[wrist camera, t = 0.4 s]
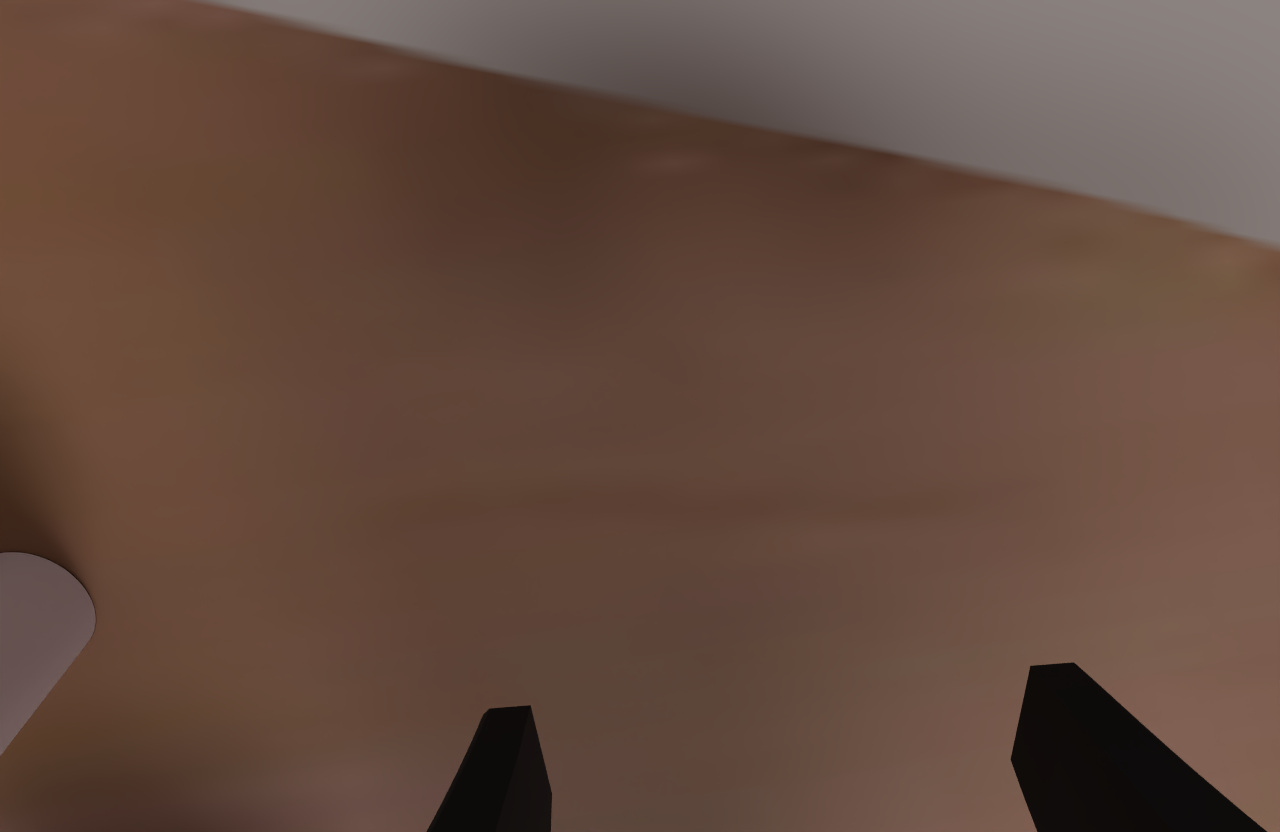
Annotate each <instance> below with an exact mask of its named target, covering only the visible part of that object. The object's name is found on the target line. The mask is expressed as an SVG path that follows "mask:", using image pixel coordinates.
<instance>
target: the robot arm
mask: <svg viewBox="0 0 1280 832" xmlns="http://www.w3.org/2000/svg"><path fill="white" fill-rule="evenodd" d="M1011 762H1012V765H1013V767H1014V770H1015V773H1016V776H1017V779H1018V781H1019V784H1020V787H1021V790H1022V792H1023V795H1024V798H1025V801H1026V803H1027V806H1028V809H1029V811H1030V814H1031V816H1032V819H1033V821H1034V824H1035V827H1036V829H1037V832H1267V831H1265V830H1264V829H1263V828H1262V827H1261V826H1259V825H1258V824H1257V823H1256V822H1255V821H1253V820H1252V819H1251V818H1250V817H1249V816H1247V815H1246V814H1245V813H1244V812H1242V811H1241V810H1240V809H1239V808H1238V807H1237V806H1235V805H1234V804H1233V803H1232V802H1231V801H1230V800H1228V799H1227V798H1226V797H1225V796H1224V795H1223V794H1221V793H1220V792H1219V791H1218V790H1217V789H1215V788H1214V787H1213V786H1212V785H1211V784H1210V783H1208V782H1207V781H1206V780H1205V779H1204V778H1203V777H1201V776H1200V775H1199V774H1198V773H1197V772H1196V771H1194V770H1193V769H1192V768H1191V767H1190V766H1189V765H1188V764H1186V763H1185V762H1184V761H1183V760H1182V759H1181V758H1180V757H1178V756H1177V755H1176V754H1175V753H1174V752H1173V751H1172V750H1171V749H1169V748H1168V747H1167V746H1166V745H1165V744H1164V743H1163V742H1162V741H1160V740H1159V739H1158V738H1157V737H1156V736H1155V735H1154V734H1153V733H1152V732H1150V731H1149V730H1148V729H1147V728H1146V727H1145V726H1144V725H1143V724H1142V723H1140V722H1139V721H1138V720H1137V719H1136V718H1135V717H1134V716H1133V715H1132V714H1130V713H1129V712H1128V711H1127V710H1126V709H1125V708H1124V707H1123V706H1122V705H1121V704H1120V703H1118V702H1117V701H1116V700H1115V699H1114V698H1113V697H1112V696H1111V695H1110V694H1109V693H1107V692H1106V691H1105V690H1104V689H1103V688H1102V687H1101V686H1100V685H1099V684H1098V683H1096V682H1095V681H1094V680H1093V679H1092V678H1091V677H1090V676H1089V675H1088V674H1086V673H1085V672H1084V671H1083V670H1082V669H1081V668H1080V667H1079V666H1077V665H1076V664H1075V663H1062V664H1049V665H1036V666H1030V671H1029V675H1028V680H1027V685H1026V690H1025V694H1024V699H1023V704H1022V708H1021V713H1020V718H1019V723H1018V727H1017V732H1016V737H1015V741H1014V746H1013V751H1012V756H1011ZM551 807H552V792H551V788H550V784H549V780H548V776H547V771H546V767H545V763H544V759H543V755H542V751H541V747H540V742H539V738H538V734H537V730H536V726H535V722H534V718H533V714H532V709H531V705H529V706H517V707H504V708H491V709H489V710H488V711H487V712H486V713H484V714H483V716H482V719H481V721H480V724H479V726H478V728H477V731H476V733H475V735H474V737H473V740H472V742H471V744H470V746H469V748H468V751H467V753H466V755H465V757H464V759H463V761H462V764H461V766H460V768H459V770H458V772H457V774H456V776H455V778H454V780H453V782H452V784H451V786H450V788H449V790H448V792H447V794H446V796H445V798H444V800H443V802H442V804H441V806H440V808H439V810H438V811H437V813H436V815H435V817H434V819H433V821H432V823H431V824H430V826H429V828H428V830H427V832H551Z"/></svg>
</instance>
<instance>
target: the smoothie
mask: <svg viewBox="0 0 1280 832" xmlns="http://www.w3.org/2000/svg"><path fill="white" fill-rule="evenodd" d="M95 624H96V615H95V609H94V606H93V603H92V600H91V598H90V596H89V595H88V593H87V591H86V590H85V588H84V587H83V586H82V585H81V583H80V582H79V581H78V580H77V579H76V578H75V577H74V576H73V575H71V574H70V573H69V572H68V571H66V570H65V569H64V568H62V567H60V566H59V565H57V564H55V563H53V562H52V561H49V560H47V559H45V558H42V557H39V556H36V555H32V554H27V553H19V552H5V553H0V756H1V754H2V753H3V752H4V751H5V749H6V748H7V747H8V745H9V744H10V743H11V742H12V740H13V739H14V738H15V736H16V735H17V734H18V732H19V731H20V730H21V729H22V727H23V726H24V725H25V723H26V722H27V721H28V719H29V718H30V717H31V716H32V714H33V713H34V712H35V710H36V709H37V708H38V707H39V705H40V704H41V703H42V701H43V700H44V699H45V697H46V696H47V695H48V694H49V692H50V691H51V690H52V688H53V687H54V686H55V685H56V683H57V682H58V681H59V679H60V678H61V677H62V675H63V674H64V673H65V672H66V670H67V669H68V668H69V666H70V665H71V664H72V663H73V661H74V660H75V659H76V657H77V656H78V655H79V653H80V652H81V651H82V650H83V648H84V647H85V646H86V644H87V643H88V642H89V640H90V639H91V637H92V635H93V633H94V629H95Z"/></svg>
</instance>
